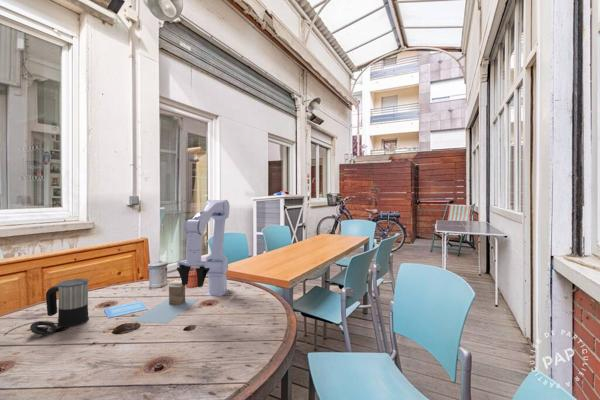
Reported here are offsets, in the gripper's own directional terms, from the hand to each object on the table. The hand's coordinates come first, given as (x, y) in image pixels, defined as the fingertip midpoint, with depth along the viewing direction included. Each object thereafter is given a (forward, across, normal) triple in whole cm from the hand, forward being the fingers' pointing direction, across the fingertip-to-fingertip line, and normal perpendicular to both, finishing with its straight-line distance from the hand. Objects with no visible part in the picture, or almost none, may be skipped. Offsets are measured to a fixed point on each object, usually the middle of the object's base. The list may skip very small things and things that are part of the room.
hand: (192, 285), depth 115 cm
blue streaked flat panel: (+12, -28, -6) cm, 31 cm away
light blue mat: (+11, -12, 0) cm, 16 cm away
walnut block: (+10, -14, +7) cm, 18 cm away
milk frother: (+13, -35, -25) cm, 45 cm away
